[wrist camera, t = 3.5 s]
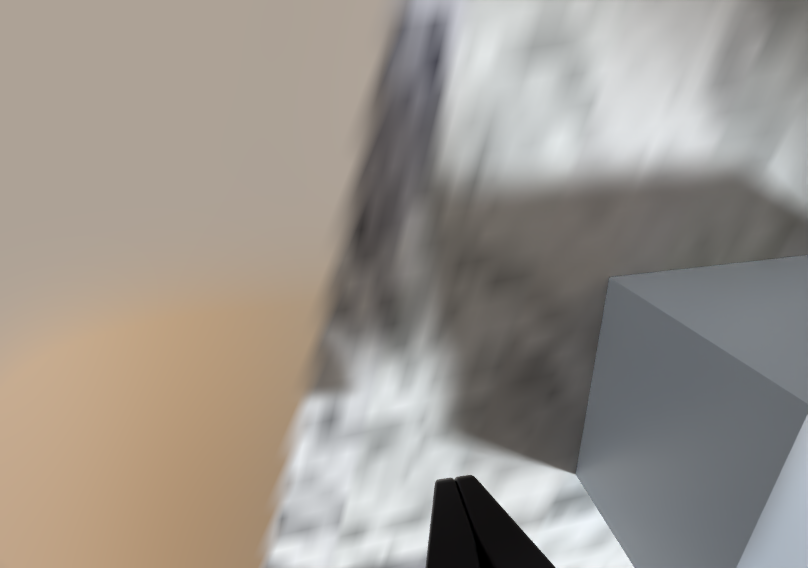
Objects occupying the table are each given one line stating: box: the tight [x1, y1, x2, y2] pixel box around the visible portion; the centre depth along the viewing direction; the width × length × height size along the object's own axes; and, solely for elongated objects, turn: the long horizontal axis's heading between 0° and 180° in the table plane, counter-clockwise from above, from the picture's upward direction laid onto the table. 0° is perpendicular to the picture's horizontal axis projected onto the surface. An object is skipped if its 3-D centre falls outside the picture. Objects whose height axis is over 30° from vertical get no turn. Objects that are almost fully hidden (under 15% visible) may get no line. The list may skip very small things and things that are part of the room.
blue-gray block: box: [576, 255, 808, 568], centre depth 10 cm, size 8×7×5 cm
